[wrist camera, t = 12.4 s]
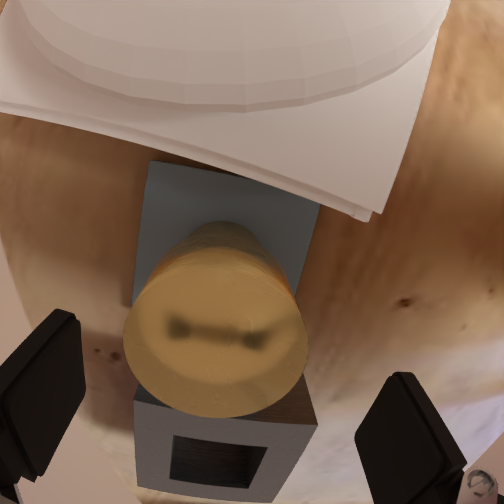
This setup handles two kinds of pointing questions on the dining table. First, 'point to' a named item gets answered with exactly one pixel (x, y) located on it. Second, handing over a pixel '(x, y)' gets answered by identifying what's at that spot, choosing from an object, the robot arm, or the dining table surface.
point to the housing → (221, 448)
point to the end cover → (217, 326)
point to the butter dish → (234, 83)
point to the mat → (220, 215)
